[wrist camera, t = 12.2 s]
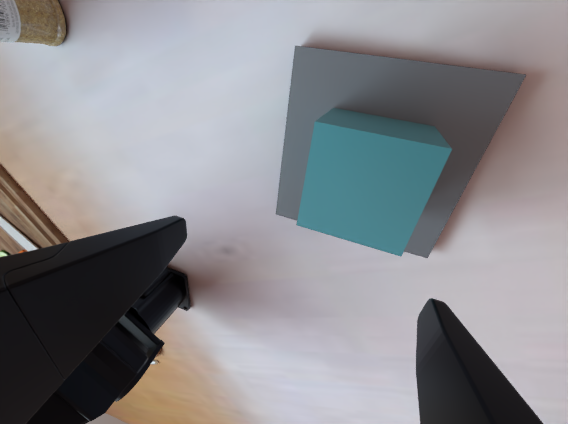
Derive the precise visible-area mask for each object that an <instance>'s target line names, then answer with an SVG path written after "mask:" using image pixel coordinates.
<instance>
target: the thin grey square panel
mask: <svg viewBox="0 0 568 424" xmlns="http://www.w3.org/2000/svg"><path fill="white" fill-rule="evenodd" d="M525 76H526V75H525V74H517V73H509V72H501V71H493V70H485V69H477V68H469V67H461V66H453V65H445V64H437V63H430V62H422V61H414V60H406V59H398V58H390V57H382V56H374V55H366V54H358V53H350V52H342V51H334V50H326V49H318V48H310V47H302V46H295V51H294V60H293V69H292V78H291V86H290V95H289V104H288V112H287V121H286V130H285V139H284V147H283V156H282V165H281V173H280V182H279V191H278V200H277V208H276V214H277V215H280V216H284V217H287V218H291V219H294V220H298V214H299V208H300V203H301V197H302V191H303V186H304V180H305V174H306V169H307V163H308V157H309V152H310V146H311V140H312V135H313V129H314V123H315V121H316V120H318V119H319V118H320V117H322V116H323V115H324V114H326V113H327V112H328V111H330V110H331V109H332V108H338V109H343V110H349V111H354V112H359V113H365V114H370V115H376V116H381V117H387V118H392V119H397V120H403V121H408V122H414V123H419V124H424V125H430V126H435V127H436V129H437V130H438V131H439V133H440V134H441V135H442V136H443V138H444V139H445V140H446V142H447V143H448V144H449V145H450V147H451V148H452V151H451V153H450V155H449V157H448V159H447V161H446V163H445V165H444V167H443V170H442V172H441V174H440V176H439V178H438V180H437V182H436V184H435V186H434V188H433V191H432V193H431V195H430V197H429V199H428V201H427V203H426V205H425V207H424V209H423V212H422V214H421V216H420V218H419V220H418V222H417V224H416V226H415V228H414V231H413V233H412V235H411V237H410V239H409V241H408V243H407V245H406V247H405V249H404V252H408V253H411V254H415V255H418V256H422V257H425V258H428V256H429V254H430V252H431V251H432V249H433V247H434V245H435V243H436V241H437V239H438V238H439V236H440V234H441V232H442V230H443V228H444V227H445V225H446V223H447V221H448V219H449V217H450V215H451V214H452V212H453V210H454V208H455V206H456V204H457V202H458V201H459V199H460V197H461V195H462V193H463V191H464V189H465V188H466V186H467V184H468V182H469V180H470V178H471V176H472V175H473V173H474V171H475V169H476V167H477V165H478V163H479V162H480V160H481V158H482V156H483V154H484V152H485V151H486V149H487V147H488V145H489V143H490V141H491V139H492V138H493V136H494V134H495V132H496V130H497V128H498V126H499V125H500V123H501V121H502V119H503V117H504V115H505V113H506V112H507V110H508V108H509V106H510V104H511V102H512V100H513V99H514V97H515V95H516V93H517V91H518V89H519V87H520V86H521V84H522V82H523V80H524V78H525Z"/></svg>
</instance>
